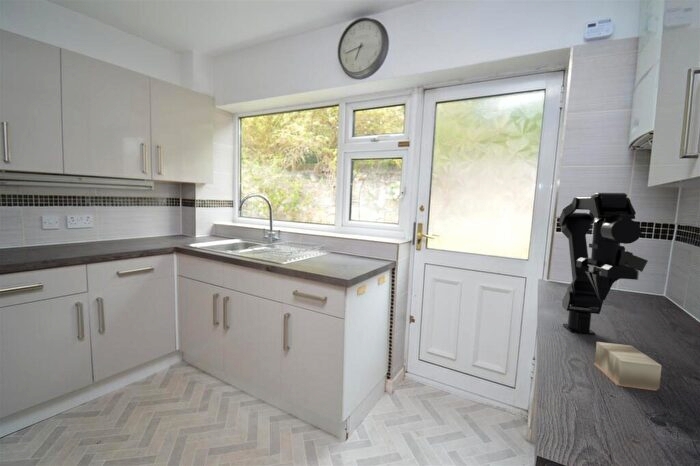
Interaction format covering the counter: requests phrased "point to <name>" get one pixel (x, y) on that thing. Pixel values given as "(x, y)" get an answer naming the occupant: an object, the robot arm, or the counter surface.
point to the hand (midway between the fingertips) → (601, 299)
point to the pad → (617, 382)
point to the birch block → (628, 365)
